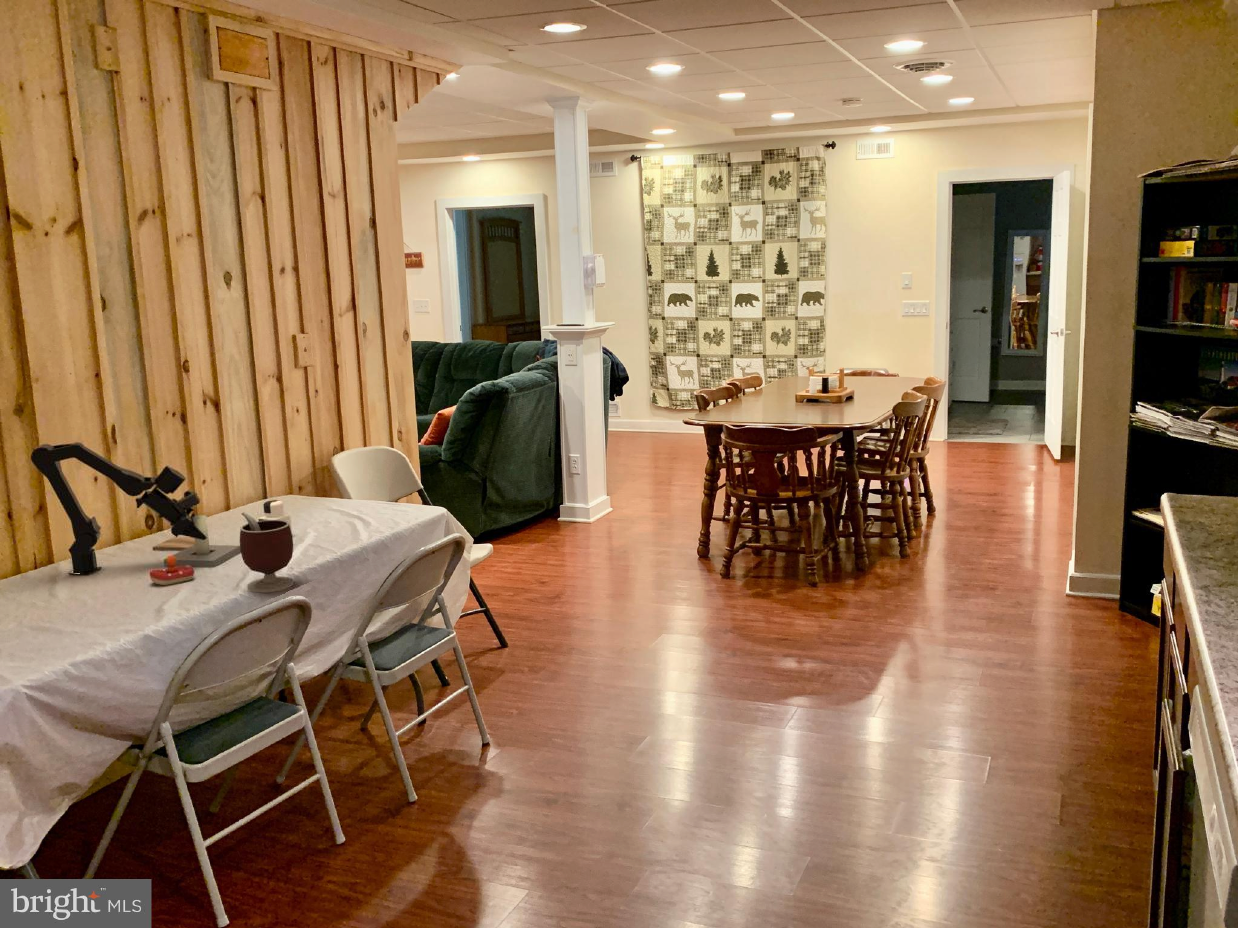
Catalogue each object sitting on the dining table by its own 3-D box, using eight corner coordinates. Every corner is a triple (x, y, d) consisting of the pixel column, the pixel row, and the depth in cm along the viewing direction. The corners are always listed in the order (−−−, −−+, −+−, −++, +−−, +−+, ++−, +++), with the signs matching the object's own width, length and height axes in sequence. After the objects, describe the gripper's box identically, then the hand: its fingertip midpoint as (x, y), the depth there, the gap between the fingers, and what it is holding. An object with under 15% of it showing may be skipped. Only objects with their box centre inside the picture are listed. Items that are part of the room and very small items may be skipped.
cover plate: (214, 567, 316) (213, 560, 315) (164, 566, 318) (163, 559, 318) (241, 551, 331) (240, 545, 331) (193, 550, 334) (193, 544, 333)
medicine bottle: (260, 539, 346) (256, 502, 343) (276, 533, 352) (273, 498, 349) (276, 541, 342) (272, 504, 340) (292, 535, 349) (289, 499, 346)
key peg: (206, 560, 323) (201, 518, 320) (193, 560, 323) (189, 518, 321) (213, 556, 326) (208, 515, 324) (201, 556, 327) (196, 515, 324)
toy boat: (147, 583, 303) (144, 557, 301) (189, 574, 310) (186, 549, 308) (155, 589, 297) (152, 562, 296) (198, 580, 304) (195, 554, 303)
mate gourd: (307, 581, 299) (301, 512, 295) (268, 596, 287) (261, 523, 283) (268, 574, 307) (262, 506, 303) (229, 588, 295) (221, 518, 291)
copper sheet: (187, 550, 334) (187, 547, 334) (152, 550, 336) (152, 547, 336) (208, 540, 346) (208, 537, 346) (174, 539, 348) (174, 536, 348)
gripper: (178, 491, 310) (223, 524, 316) (183, 478, 328) (225, 510, 333) (152, 520, 309) (197, 552, 315) (158, 506, 327) (200, 537, 332)
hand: (206, 537), depth 324 cm, fingers closed on key peg, 4 cm apart
